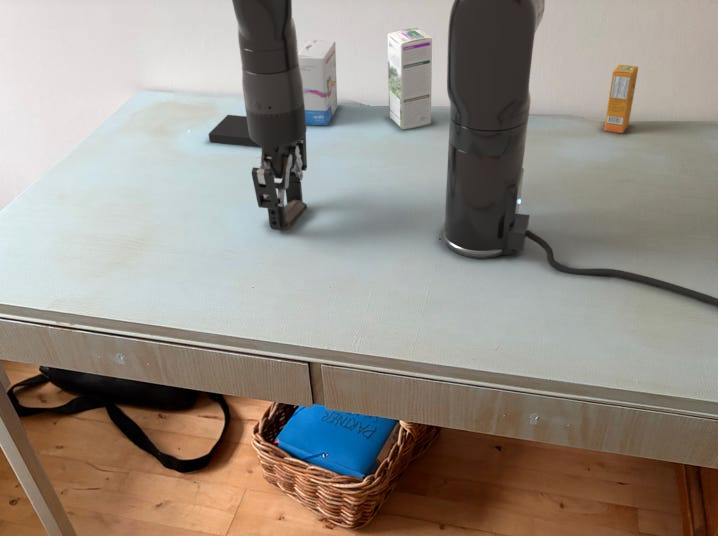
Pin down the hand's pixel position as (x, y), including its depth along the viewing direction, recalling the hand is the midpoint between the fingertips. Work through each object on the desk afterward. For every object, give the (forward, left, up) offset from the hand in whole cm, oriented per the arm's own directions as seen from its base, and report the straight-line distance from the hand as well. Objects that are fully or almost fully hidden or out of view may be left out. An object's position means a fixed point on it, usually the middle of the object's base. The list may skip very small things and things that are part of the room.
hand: (287, 215), depth 106 cm
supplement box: (-43, -40, -1) cm, 59 cm away
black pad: (+17, -25, -1) cm, 30 cm away
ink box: (+7, -35, -1) cm, 36 cm away
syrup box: (-9, -36, -1) cm, 37 cm away
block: (0, 0, -1) cm, 1 cm away
